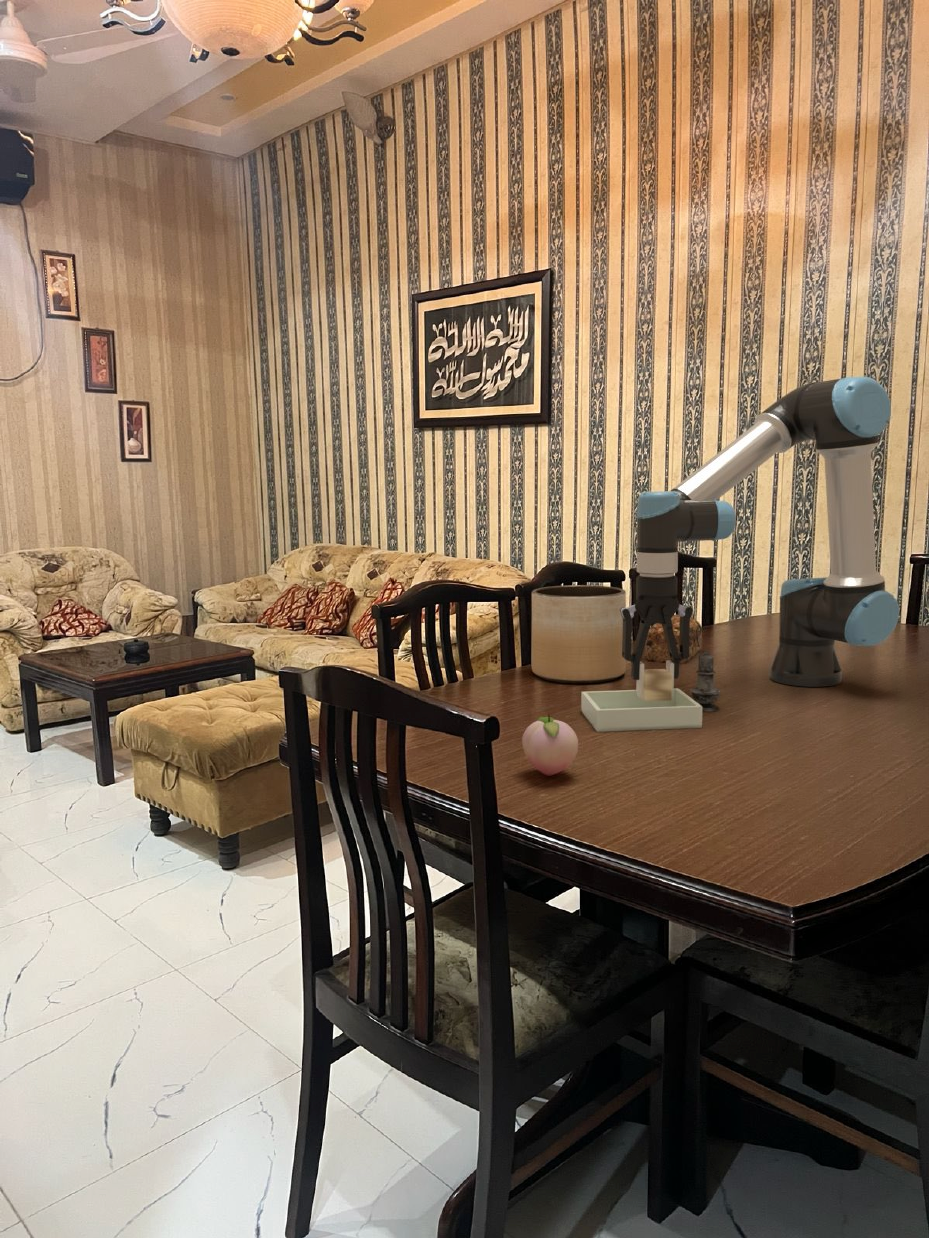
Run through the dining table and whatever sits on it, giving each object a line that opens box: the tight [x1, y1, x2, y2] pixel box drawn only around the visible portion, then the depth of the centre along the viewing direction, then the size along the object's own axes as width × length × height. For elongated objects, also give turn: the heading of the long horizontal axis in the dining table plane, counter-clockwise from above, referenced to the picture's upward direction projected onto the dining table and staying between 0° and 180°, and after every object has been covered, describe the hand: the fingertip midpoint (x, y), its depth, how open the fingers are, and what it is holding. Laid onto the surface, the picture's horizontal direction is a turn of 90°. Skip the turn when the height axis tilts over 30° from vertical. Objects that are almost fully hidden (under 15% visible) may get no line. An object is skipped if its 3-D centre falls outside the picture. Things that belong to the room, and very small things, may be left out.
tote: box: [580, 687, 703, 733], centre depth 172 cm, size 20×15×4 cm
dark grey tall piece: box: [689, 648, 722, 712], centre depth 179 cm, size 6×6×12 cm
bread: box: [645, 614, 703, 665], centre depth 231 cm, size 19×11×10 cm, turn 153°
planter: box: [530, 584, 627, 684], centre depth 210 cm, size 22×22×20 cm
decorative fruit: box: [521, 713, 579, 777], centre depth 140 cm, size 9×8×10 cm
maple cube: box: [642, 668, 672, 701], centre depth 171 cm, size 5×5×5 cm
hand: (654, 695), depth 172 cm, fingers closed on maple cube, 5 cm apart
